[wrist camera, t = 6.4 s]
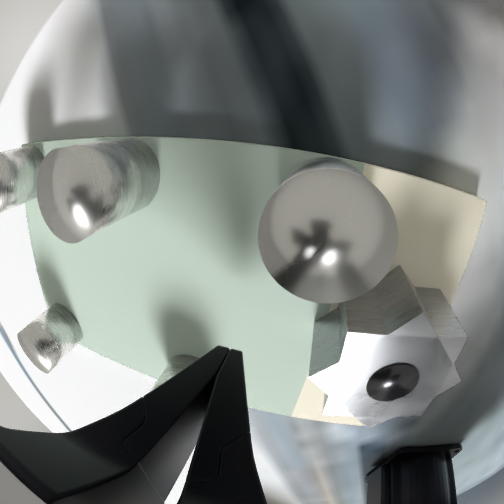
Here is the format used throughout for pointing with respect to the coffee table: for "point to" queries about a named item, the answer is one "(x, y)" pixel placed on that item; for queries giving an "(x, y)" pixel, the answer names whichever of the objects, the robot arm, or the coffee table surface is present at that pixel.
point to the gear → (386, 351)
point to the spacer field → (269, 231)
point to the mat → (229, 265)
